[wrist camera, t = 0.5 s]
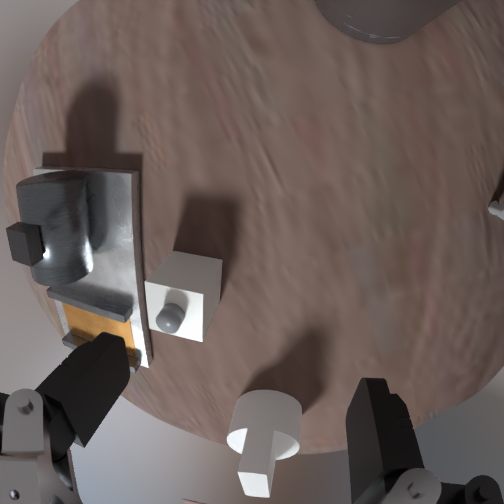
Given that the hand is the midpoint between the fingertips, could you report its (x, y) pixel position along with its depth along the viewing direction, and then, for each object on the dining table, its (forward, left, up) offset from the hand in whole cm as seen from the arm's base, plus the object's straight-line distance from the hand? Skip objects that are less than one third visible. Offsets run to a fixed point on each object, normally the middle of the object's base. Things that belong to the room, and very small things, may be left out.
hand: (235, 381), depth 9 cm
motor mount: (+10, -20, -18) cm, 29 cm away
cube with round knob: (+8, -7, -18) cm, 21 cm away
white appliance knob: (+27, +3, -18) cm, 32 cm away
